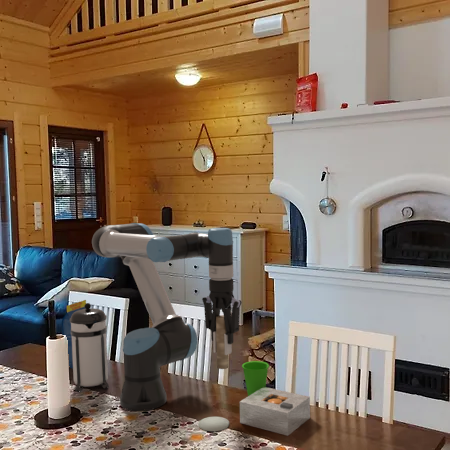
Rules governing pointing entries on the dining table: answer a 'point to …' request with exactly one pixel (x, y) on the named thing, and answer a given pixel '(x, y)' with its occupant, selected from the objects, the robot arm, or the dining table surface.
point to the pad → (213, 424)
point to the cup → (255, 375)
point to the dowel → (221, 343)
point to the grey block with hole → (275, 410)
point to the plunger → (275, 401)
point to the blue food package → (67, 326)
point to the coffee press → (89, 347)
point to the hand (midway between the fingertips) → (222, 352)
